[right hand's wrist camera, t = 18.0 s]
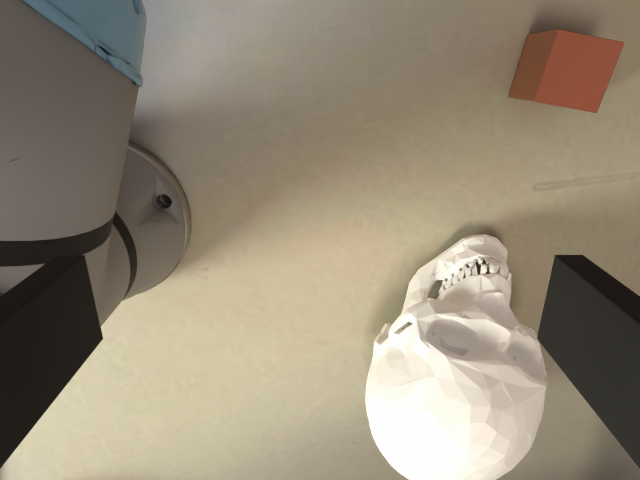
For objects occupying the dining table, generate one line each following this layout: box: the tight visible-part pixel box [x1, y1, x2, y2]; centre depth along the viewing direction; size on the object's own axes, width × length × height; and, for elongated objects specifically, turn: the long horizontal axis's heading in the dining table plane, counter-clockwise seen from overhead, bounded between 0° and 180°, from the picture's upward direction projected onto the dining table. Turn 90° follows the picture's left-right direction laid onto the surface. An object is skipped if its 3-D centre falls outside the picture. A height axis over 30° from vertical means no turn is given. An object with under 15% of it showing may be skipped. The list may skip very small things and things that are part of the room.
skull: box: [365, 234, 547, 480], centre depth 39 cm, size 13×22×16 cm, turn 165°
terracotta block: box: [509, 30, 624, 113], centre depth 35 cm, size 5×5×5 cm
